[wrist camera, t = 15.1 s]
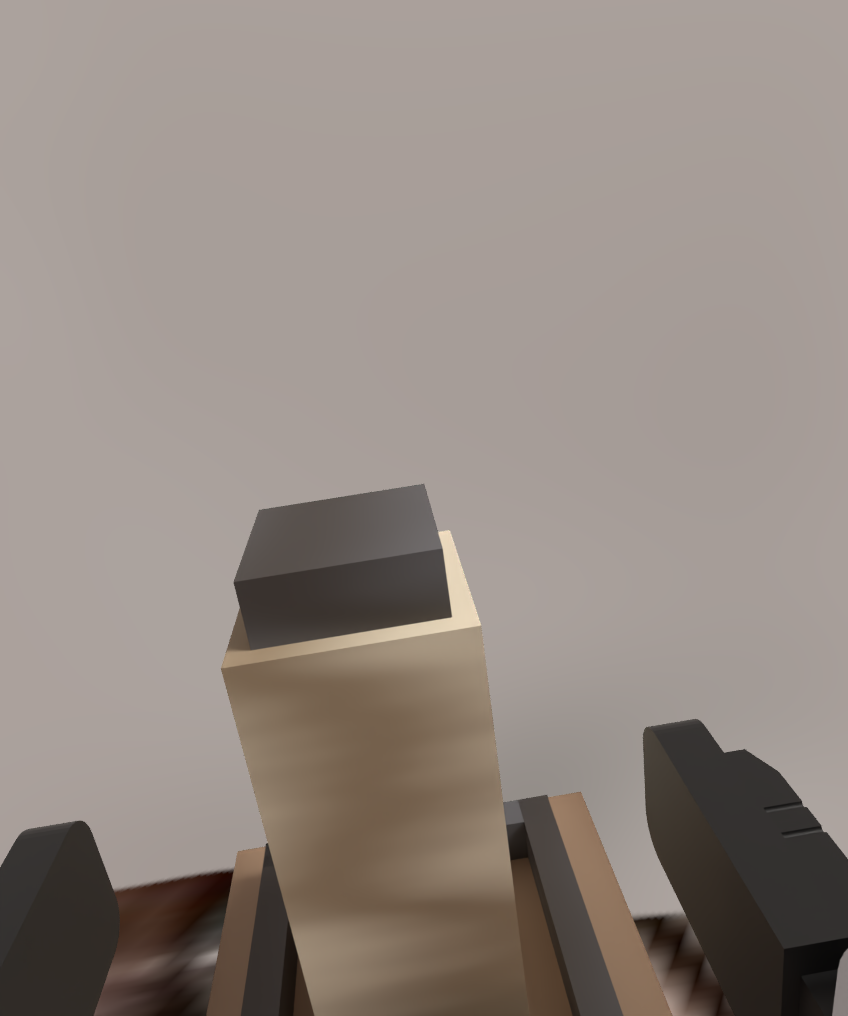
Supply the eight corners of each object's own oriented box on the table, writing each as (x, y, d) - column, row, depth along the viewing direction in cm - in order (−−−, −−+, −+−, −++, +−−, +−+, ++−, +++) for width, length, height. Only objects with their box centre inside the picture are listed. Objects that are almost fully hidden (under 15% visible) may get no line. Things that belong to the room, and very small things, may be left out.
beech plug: (498, 896, 19) (442, 474, 15) (535, 1062, 15) (472, 554, 11) (340, 925, 18) (241, 506, 15) (337, 1099, 15) (202, 597, 11)
